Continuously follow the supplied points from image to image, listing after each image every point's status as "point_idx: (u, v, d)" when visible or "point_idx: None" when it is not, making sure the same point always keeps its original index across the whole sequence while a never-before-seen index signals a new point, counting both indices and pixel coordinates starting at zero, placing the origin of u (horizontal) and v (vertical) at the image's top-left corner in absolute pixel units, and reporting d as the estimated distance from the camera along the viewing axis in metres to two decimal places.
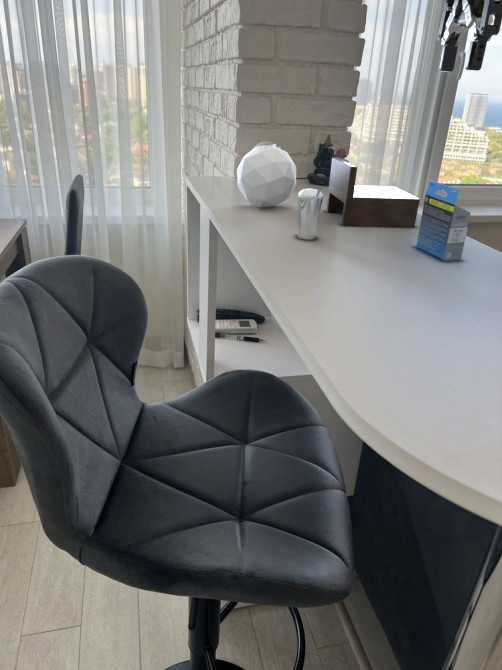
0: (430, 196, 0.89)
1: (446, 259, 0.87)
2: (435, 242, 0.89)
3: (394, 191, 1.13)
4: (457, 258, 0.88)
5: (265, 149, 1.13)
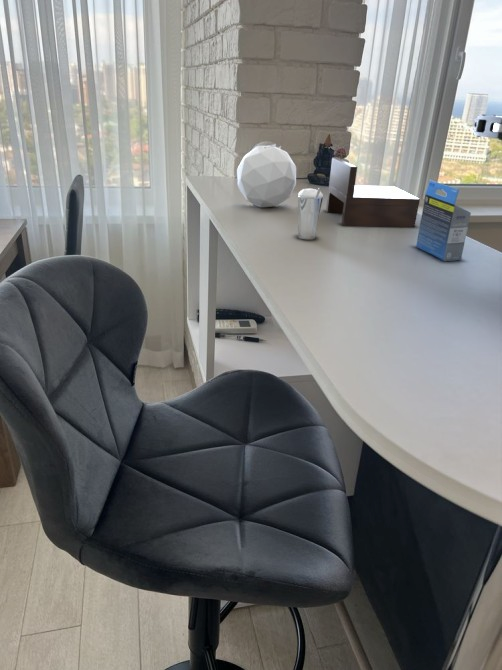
0: (430, 196, 0.89)
1: (446, 259, 0.87)
2: (435, 242, 0.89)
3: (394, 191, 1.13)
4: (457, 258, 0.88)
5: (265, 149, 1.13)
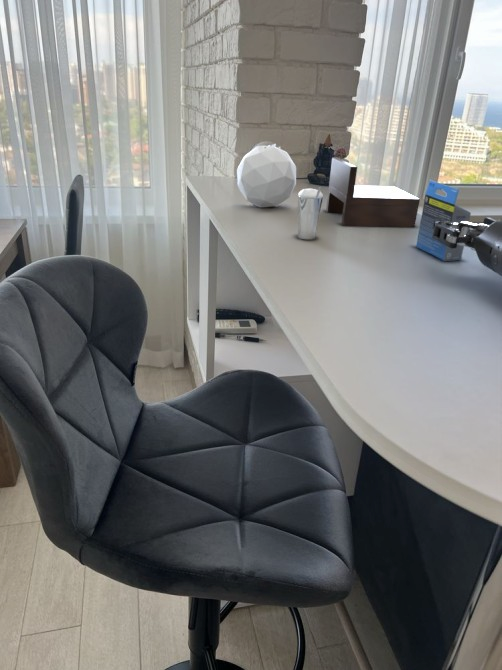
0: (430, 196, 0.89)
1: (446, 259, 0.87)
2: (435, 242, 0.89)
3: (394, 191, 1.13)
4: (457, 258, 0.88)
5: (265, 149, 1.13)
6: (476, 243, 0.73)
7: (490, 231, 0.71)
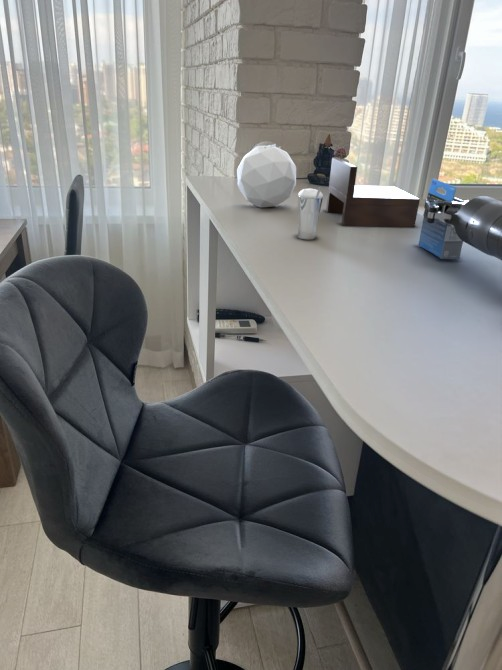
0: (432, 194, 0.89)
1: (443, 257, 0.87)
2: (434, 240, 0.89)
3: (394, 191, 1.13)
4: (455, 257, 0.88)
5: (265, 149, 1.13)
6: (454, 220, 0.79)
7: (466, 208, 0.76)
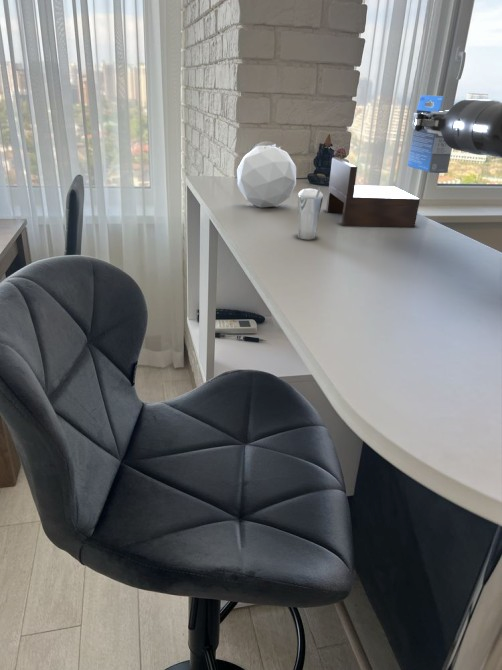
0: (420, 110, 0.90)
1: (431, 171, 0.89)
2: (422, 155, 0.90)
3: (394, 191, 1.13)
4: (443, 171, 0.89)
5: (265, 149, 1.13)
6: (441, 124, 0.80)
7: (453, 109, 0.78)
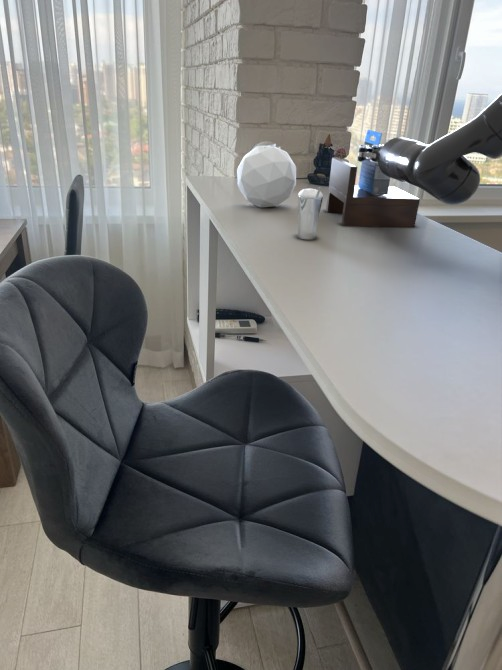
0: (367, 142, 1.09)
1: (374, 193, 1.07)
2: (368, 179, 1.09)
3: (394, 191, 1.13)
4: (384, 193, 1.07)
5: (265, 149, 1.13)
6: (377, 157, 0.98)
7: (385, 146, 0.96)
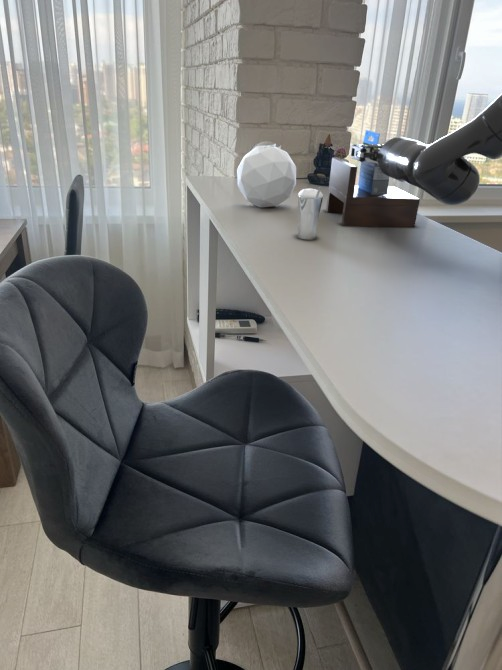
0: (365, 143, 1.09)
1: (373, 193, 1.07)
2: (367, 180, 1.09)
3: (394, 191, 1.13)
4: (383, 193, 1.07)
5: (265, 149, 1.13)
6: (377, 156, 0.98)
7: (385, 145, 0.96)
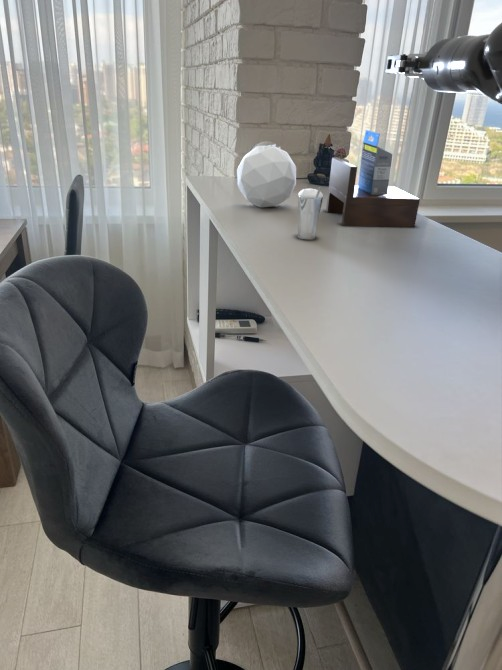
0: (365, 143, 1.09)
1: (373, 193, 1.07)
2: (367, 180, 1.09)
3: (394, 191, 1.13)
4: (383, 193, 1.07)
5: (265, 149, 1.13)
6: (422, 64, 0.80)
7: (433, 48, 0.78)
